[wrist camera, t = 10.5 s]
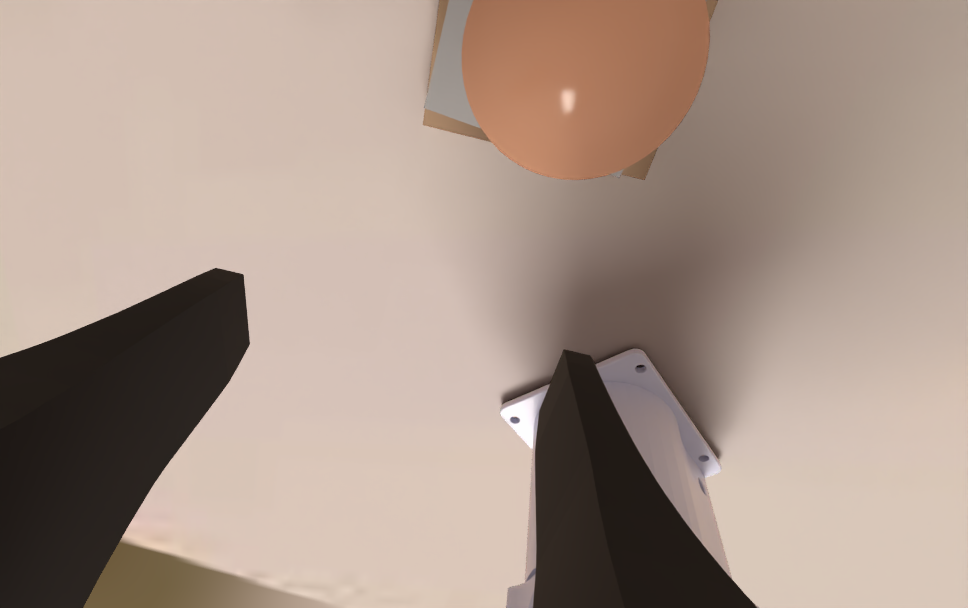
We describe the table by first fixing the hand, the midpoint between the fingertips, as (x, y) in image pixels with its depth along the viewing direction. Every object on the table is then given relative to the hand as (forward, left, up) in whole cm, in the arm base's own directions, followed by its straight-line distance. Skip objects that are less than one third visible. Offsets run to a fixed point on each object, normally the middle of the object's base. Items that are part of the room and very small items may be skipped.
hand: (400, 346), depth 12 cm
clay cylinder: (+3, -6, -6) cm, 9 cm away
